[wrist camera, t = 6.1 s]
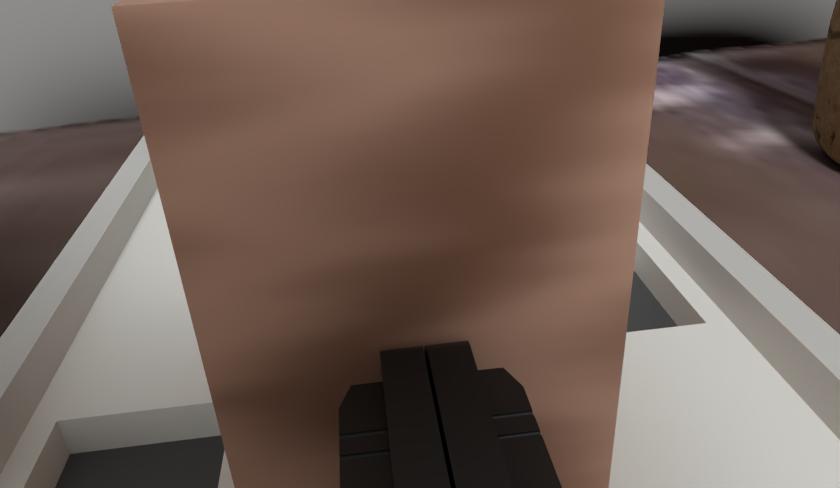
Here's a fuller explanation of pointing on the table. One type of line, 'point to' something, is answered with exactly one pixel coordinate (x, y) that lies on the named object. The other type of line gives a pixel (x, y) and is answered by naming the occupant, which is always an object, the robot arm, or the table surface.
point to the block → (829, 92)
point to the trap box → (639, 390)
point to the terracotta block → (398, 203)
